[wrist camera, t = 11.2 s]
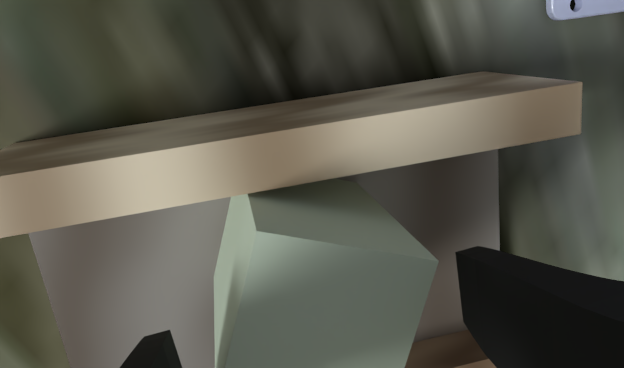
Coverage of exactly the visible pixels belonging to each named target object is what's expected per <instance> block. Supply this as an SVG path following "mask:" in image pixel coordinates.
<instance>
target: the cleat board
mask: <svg viewBox="0 0 624 368" xmlns="http://www.w3.org/2000/svg"><path fill="white" fill-rule="evenodd" d="M581 115H582V82H579V81H569V80H560V79H550V78H541V77H532V76H522V75H513V74H503V73H494V72H484V71H481V72H475V73H468V74H462V75H455V76H449V77H442V78H436V79H429V80H423V81H416V82H410V83H403V84H397V85H390V86H384V87H377V88H371V89H364V90H358V91H351V92H345V93H338V94H332V95H325V96H319V97H312V98H306V99H299V100H292V101H286V102H279V103H273V104H266V105H260V106H253V107H247V108H240V109H234V110H227V111H221V112H214V113H208V114H201V115H195V116H188V117H182V118H175V119H169V120H162V121H156V122H149V123H143V124H136V125H130V126H123V127H117V128H110V129H104V130H97V131H91V132H84V133H78V134H71V135H65V136H58V137H52V138H45V139H39V140H32V141H26V142H19V143H13V144H11V145H9V146H7V147H5V148H3V149H1V150H0V238H3V237H9V236H14V235H20V234H25V233H28V234H29V237H30V240H31V243H32V247H33V250H34V253H35V256H36V259H37V262H38V265H39V269H40V272H41V275H42V278H43V281H44V284H45V288H46V291H47V294H48V297H49V300H50V303H51V307H52V310H53V313H54V316H55V319H56V322H57V326H58V329H59V332H60V335H61V338H62V341H63V345H64V348H65V351H66V354H67V357H68V360H69V363H70V367H71V368H120V366H121V365H122V364H123V362H124V361H125V360H126V358H127V357H128V356H129V355H130V353H131V352H132V351H133V349H134V348H135V347H136V345H137V344H138V343H139V342H140V341H141V339H142V338H143V337H144V336H148V335H152V334H155V333H159V332H163V331H166V330H170V331H171V334H172V337H173V340H174V343H175V347H176V350H177V353H178V356H179V359H180V362H181V365H182V368H215V338H214V273H215V269H216V264H217V259H218V255H219V250H220V246H221V241H222V236H223V232H224V227H225V222H226V218H227V213H228V209H229V204H230V199H231V197H232V196H238V195H243V194H249V193H254V192H260V191H266V190H271V189H277V188H282V187H288V186H293V185H299V184H305V183H310V182H316V181H321V180H327V179H333V178H335V179H340V180H345V181H350V182H355V183H358V184H359V185H360V186H361V187H362V188H363V189H364V190H365V191H366V192H367V193H368V194H369V195H370V196H372V197H373V198H374V199H375V200H376V201H377V202H378V203H379V204H380V205H381V206H382V207H383V208H384V209H385V210H386V211H387V212H388V213H389V214H390V215H391V216H392V217H393V218H395V219H396V220H397V221H398V222H399V223H400V224H401V225H402V226H403V227H404V228H405V229H406V230H407V231H408V232H409V233H410V234H411V235H412V236H413V237H414V238H415V239H416V240H417V241H419V242H420V243H421V244H422V245H423V246H424V247H425V248H426V249H427V250H428V251H429V252H430V253H431V254H432V255H433V256H434V257H435V258H436V259H437V260H438V261H439V262H438V265H437V268H436V272H435V275H434V278H433V281H432V284H431V287H430V290H429V293H428V296H427V299H426V303H425V306H424V309H423V312H422V315H421V318H420V321H419V324H418V327H417V331H416V334H415V337H414V340H413V343H412V346H411V349H410V352H409V355H408V359H407V362H406V365H405V368H496V366H495V365H494V364H493V363H492V362H491V361H490V360H489V358H488V357H487V356H486V355H485V354H484V352H483V351H482V349H481V348H480V346H479V345H478V344H477V342H476V341H475V339H474V338H473V336H472V335H471V333H470V331H469V330H468V328H467V327H466V325H465V324H464V322H463V315H462V307H461V298H460V289H459V280H458V272H457V263H456V254H455V252H457V251H461V250H465V249H468V248H472V247H476V246H481V247H486V248H491V249H495V250H498V251H500V231H499V178H498V149H500V148H506V147H511V146H517V145H522V144H528V143H534V142H539V141H545V140H550V139H556V138H562V137H567V136H573V135H578V134H581Z"/></svg>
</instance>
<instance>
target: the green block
mask: <svg viewBox="0 0 624 368" xmlns="http://www.w3.org/2000/svg"><path fill="white" fill-rule="evenodd" d="M438 262H439V261H438V260H437V259H436V258H435V257H434V256H433V255H432V254H431V253H430V252H429V251H428V250H427V249H426V248H425V247H424V246H423V245H422V244H421V243H420V242H419V241H417V240H416V239H415V238H414V237H413V236H412V235H411V234H410V233H409V232H408V231H407V230H406V229H405V228H404V227H403V226H402V225H401V224H400V223H399V222H398V221H397V220H396V219H395V218H393V217H392V216H391V215H390V214H389V213H388V212H387V211H386V210H385V209H384V208H383V207H382V206H381V205H380V204H379V203H378V202H377V201H376V200H375V199H374V198H373V197H372V196H370V195H369V194H368V193H367V192H366V191H365V190H364V189H363V188H362V187H361V186H360V185H359V184H358V183H355V182H350V181H345V180H340V179H335V178H333V179H327V180H321V181H316V182H310V183H305V184H299V185H293V186H288V187H282V188H277V189H271V190H266V191H260V192H254V193H249V194H243V195H238V196H232V197H231V199H230V204H229V209H228V213H227V218H226V222H225V227H224V232H223V236H222V241H221V246H220V250H219V255H218V259H217V264H216V269H215V273H214V338H215V368H405V365H406V362H407V359H408V355H409V352H410V349H411V346H412V343H413V340H414V337H415V334H416V331H417V327H418V324H419V321H420V318H421V315H422V312H423V309H424V306H425V303H426V299H427V296H428V293H429V290H430V287H431V284H432V281H433V278H434V275H435V272H436V268H437V265H438Z"/></svg>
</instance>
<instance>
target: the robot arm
mask: <svg viewBox="0 0 624 368" xmlns="http://www.w3.org/2000/svg"><path fill="white" fill-rule="evenodd" d="M570 2H571V0H546V11H547V14H548V16H549V18H551V19H552V20H567V19H574V18H581V17H589V16H596V15H603V14H610V13H617V12H624V0H575V8H574V9H573V11H572V10H571V9H570ZM455 254H456V263H457V272H458V280H459V289H460V298H461V307H462V315H463V322H464V324H465V325H466V327H467V328H468V330H469V331H470V333H471V335H472V336H473V338H474V339H475V341H476V342H477V344H478V345H479V346H480V348H481V349H482V351H483V352H484V354H485V355H486V356H487V357H488V358H489V360H490V361H491V362H492V363H493V364H494V365H495V366H496V368H624V282H623V281H617V280H611V279H606V278H601V277H596V276H592V275H588V274H583V273H579V272H575V271H571V270H567V269H563V268H559V267H555V266H551V265H548V264H544V263H541V262H537V261H534V260H530V259H527V258H523V257H520V256H516V255H513V254H509V253H506V252H502V251H498V250H495V249H491V248H486V247H481V246H476V247H472V248H468V249H465V250H461V251H457V252H455ZM120 368H182V365H181V362H180V359H179V356H178V353H177V350H176V347H175V343H174V340H173V337H172V334H171V331H170V330H166V331H163V332H159V333H155V334H152V335H148V336H144V337H143V338H142V339H141V341H140V342H139V343H138V344H137V345H136V347H135V348H134V349H133V351H132V352H131V353H130V355H129V356H128V357H127V358H126V360H125V361H124V362H123V364H122V365H121V366H120Z"/></svg>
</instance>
